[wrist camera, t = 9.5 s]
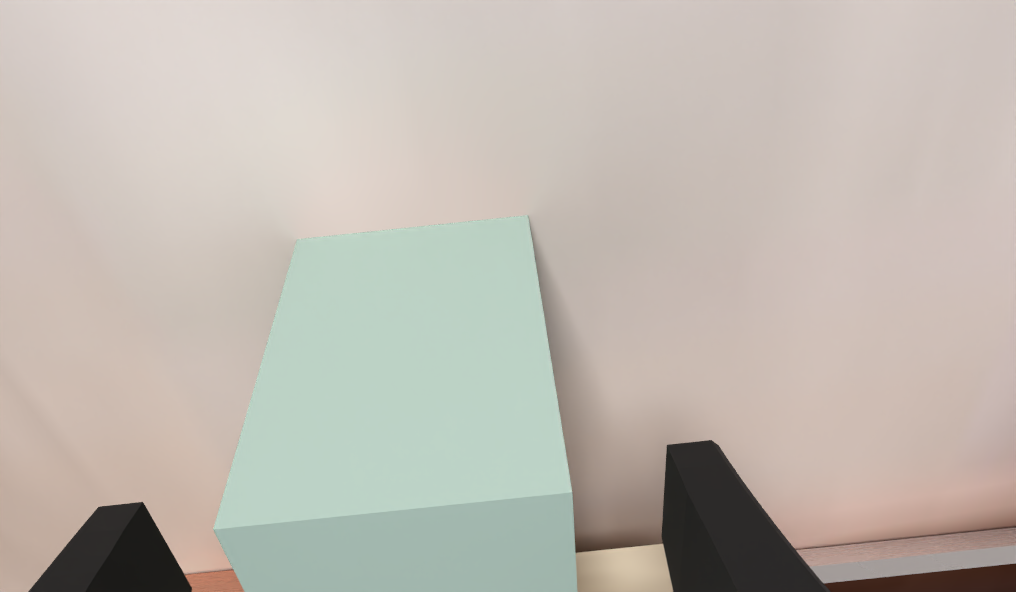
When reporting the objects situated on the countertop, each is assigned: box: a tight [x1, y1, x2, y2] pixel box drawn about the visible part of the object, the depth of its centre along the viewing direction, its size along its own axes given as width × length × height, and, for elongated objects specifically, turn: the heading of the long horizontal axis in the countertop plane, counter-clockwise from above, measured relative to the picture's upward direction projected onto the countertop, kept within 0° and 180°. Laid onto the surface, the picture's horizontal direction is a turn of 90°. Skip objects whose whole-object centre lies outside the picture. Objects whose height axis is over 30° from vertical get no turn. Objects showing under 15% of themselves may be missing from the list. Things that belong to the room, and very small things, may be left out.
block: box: [213, 215, 577, 592], centre depth 12 cm, size 4×4×6 cm
